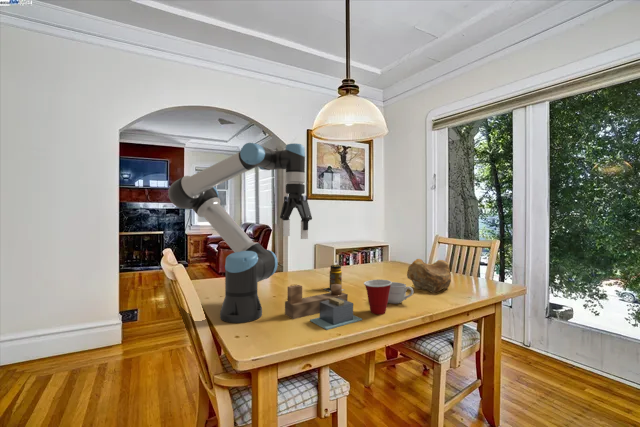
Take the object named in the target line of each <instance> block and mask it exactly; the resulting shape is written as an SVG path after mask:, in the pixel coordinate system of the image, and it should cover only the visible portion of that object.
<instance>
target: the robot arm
mask: <svg viewBox="0 0 640 427" xmlns="http://www.w3.org/2000/svg"><path fill="white" fill-rule="evenodd" d="M305 148H306V147H305V146H304V145H303V144H301V143H289V144H286V145H285V148H284V149H283V150H272V149H270V148H267V147H266V146H263V145H260V144H258V143H257V142H246V143H244V144H243V145H242V147H241V149H240V151H239V152H237V153H234V154H232V155H231V156H229V157H227V158H224V159H222V160H221V161H218V162H216V163H215V164H213V165H210V166H208V167H206V168H205V169H203V170H201V171H198V172H196V173H195V174H192V175H185V176H182V177H180V178H179V179H177V180H175V181H174V182H173V183H172V184H171V185H170V186H169V189H168V198H169V200H170V202H171V203H172V205H174V206H176V208H179V209H183V210H184V209H188V210H190V209H192V211H193V212H194V213H195V214H196V215H197V216H198V217H199V218H205V220H206V221H207V222H208V223H209V225H211V227H212V228H213V229H214V231H216V232H217V234H218V235H219V236H220V237H221V238H222V240H223V241H225V243H226V244H227V245H228V247H229V248H230V249H231V250H232V251H233V252H231V253H230V254H228V255H227V256H226V257H225V263H224V264H225V265H224V269H225V270H224V272H225V273H224V275H225V276H224V277H225V279H224V281H225V282H224V284H225V285H224V286H225V290H224V291H225V293H224V294H225V295H224V299H223V302H222V306H221V309H220V314H219V316H220V318H219V319H220V320H222V321H224V322H226V323H233V324H235V323H236V324H237V323H239V324H240V323H248V322H252V321H255V320H257V319H260V318H261V317H262V316H263V308H262V304H261V301H260V299H259V295H258V282H259V283H260V282H261V281H263V280H267V279H269V278H270V277H272V276H273V275H274V274H276V271H277V269H278V262H279V261H278V258H277V257H278V256H277V255H276V254H275V252H273V251H272V250H270V249H265V248H264V247H263V246H262V244H261V243H259V242H254V241H253V240H252V239H251V238H250V236H249V235H248V234H247V233H246V232H245V231H244V230H243V229H242V228H241V226H240V225H239V224H238V223H237V222H236V221H235V220H234V218H233V217H232V216H231V214H229V213H228V212H227V211H226V210H225V208H224V207H223V206H222V205H221V199H220V197H219V191H218V189H217V188H216V186H219V185H221V184H223V183H225V182H228V181H230V180H232V179H234V178H236V177H238V176H240V175H242V174H244V173H246V172H248V171H250V170H253V169H255V168H257V167H258V168H259V170H263V171H272V170H275V171H276V170H285V183H286V184H285V193H286V194H287V195H288V196H283V204H282V207H281V211H280V214H279V215H280V216H279V218H280V219H282V237H290V236H291V235H290V234H291V233H290V232H291V231H290V230H291V219H290V218H291V215H292V213H293V211H294V209H297V211H298V214H299V217H300V240H306V239H307V240H308V239H309V232H308V231H309V222H310V221H312V219H313V217H312V212H311V210H310V209H311V208H310V206H309V202H308V196H307V195H303V194H305V192H306V191H305V190H306V189H305V187H306V185H305V181H306V180H305V179H306V178H305V175H306V174H305V173H306V171H305V169H306V165H305V164H306V152H305V150H306V149H305Z"/></svg>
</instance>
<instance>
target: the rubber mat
mask: <svg viewBox="0 0 640 427" xmlns="http://www.w3.org/2000/svg"><path fill="white" fill-rule="evenodd" d="M309 321H310V322H311V323H313V324H315V325H316V326H318V327H320V328H323V329H324V330H326V331H329V330H331V329H335V328H339V327H343V326H346V325H349V324H354V323H357V322H361V321H363V318H361V317H358V316H356V315H355V314H353V320H351V321H347V322H343V323H340V324H336V325H332V324H330V323H328V322H326V321H324V320H322V319H320V316H319V317H315V318H312V319H309Z"/></svg>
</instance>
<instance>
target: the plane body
mask: <svg viewBox="0 0 640 427" xmlns="http://www.w3.org/2000/svg"><path fill="white" fill-rule="evenodd" d="M342 289H343V284H342V285H340V284H332V285H331V292H328V293H322V294H317V295H312V296H305V297H303V285H300V284H296V285H295V284H294V285H290V286H289V285H288V286H287V300H285V301H284V315H285V316H286V317H288V318H289V319H290V318H291V319H292V320H295V319H299V318H304V317H308V316H312V315H316V314H320V302H322V301H326V300H329V298H341V299H343V300H346V301H348V297H349V296H348V293H345V292H343V291H342Z"/></svg>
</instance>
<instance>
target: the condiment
mask: <svg viewBox="0 0 640 427" xmlns="http://www.w3.org/2000/svg"><path fill="white" fill-rule="evenodd" d="M342 275H343V272H342V266H341V265H340V264H331V265H330V270H329V287H326V288H325V287H323V290H325V291H327V292H328V293H331V285H332V284H340V285H342V286H343V283H342V281H343V280H342V278H343V276H342ZM343 291H345V289H343V288H342V292H343Z"/></svg>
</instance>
